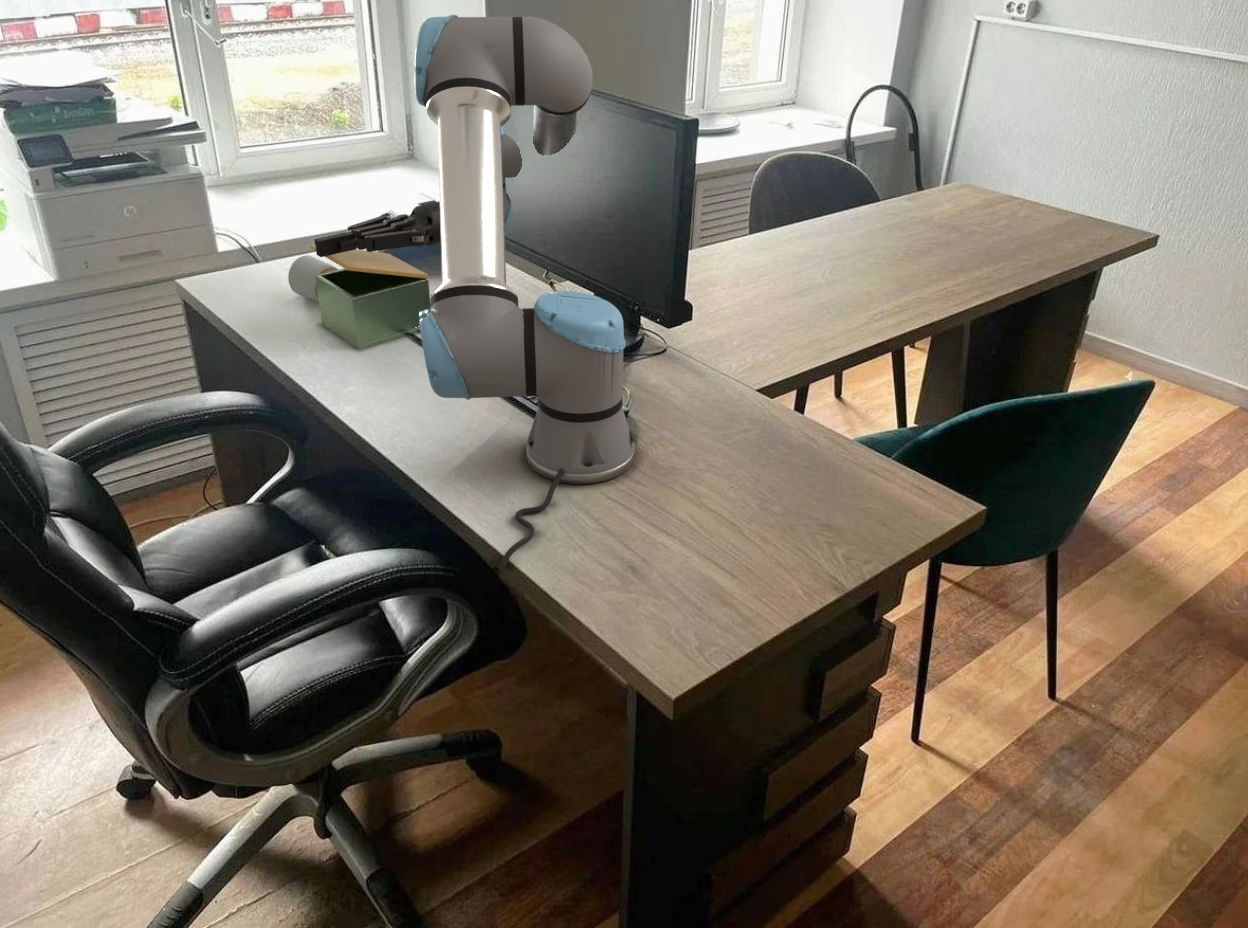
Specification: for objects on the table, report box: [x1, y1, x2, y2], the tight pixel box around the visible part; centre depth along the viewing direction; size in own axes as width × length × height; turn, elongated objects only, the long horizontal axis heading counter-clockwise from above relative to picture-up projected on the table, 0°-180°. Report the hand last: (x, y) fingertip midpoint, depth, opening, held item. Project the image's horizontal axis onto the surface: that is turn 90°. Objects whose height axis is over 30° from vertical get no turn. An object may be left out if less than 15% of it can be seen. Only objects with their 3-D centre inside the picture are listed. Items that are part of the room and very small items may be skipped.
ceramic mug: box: [287, 254, 340, 303], centre depth 188 cm, size 11×8×8 cm
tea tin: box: [315, 268, 431, 351], centre depth 177 cm, size 15×14×9 cm
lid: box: [309, 243, 429, 280], centre depth 173 cm, size 15×14×1 cm
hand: (317, 248), depth 165 cm, fingers closed
